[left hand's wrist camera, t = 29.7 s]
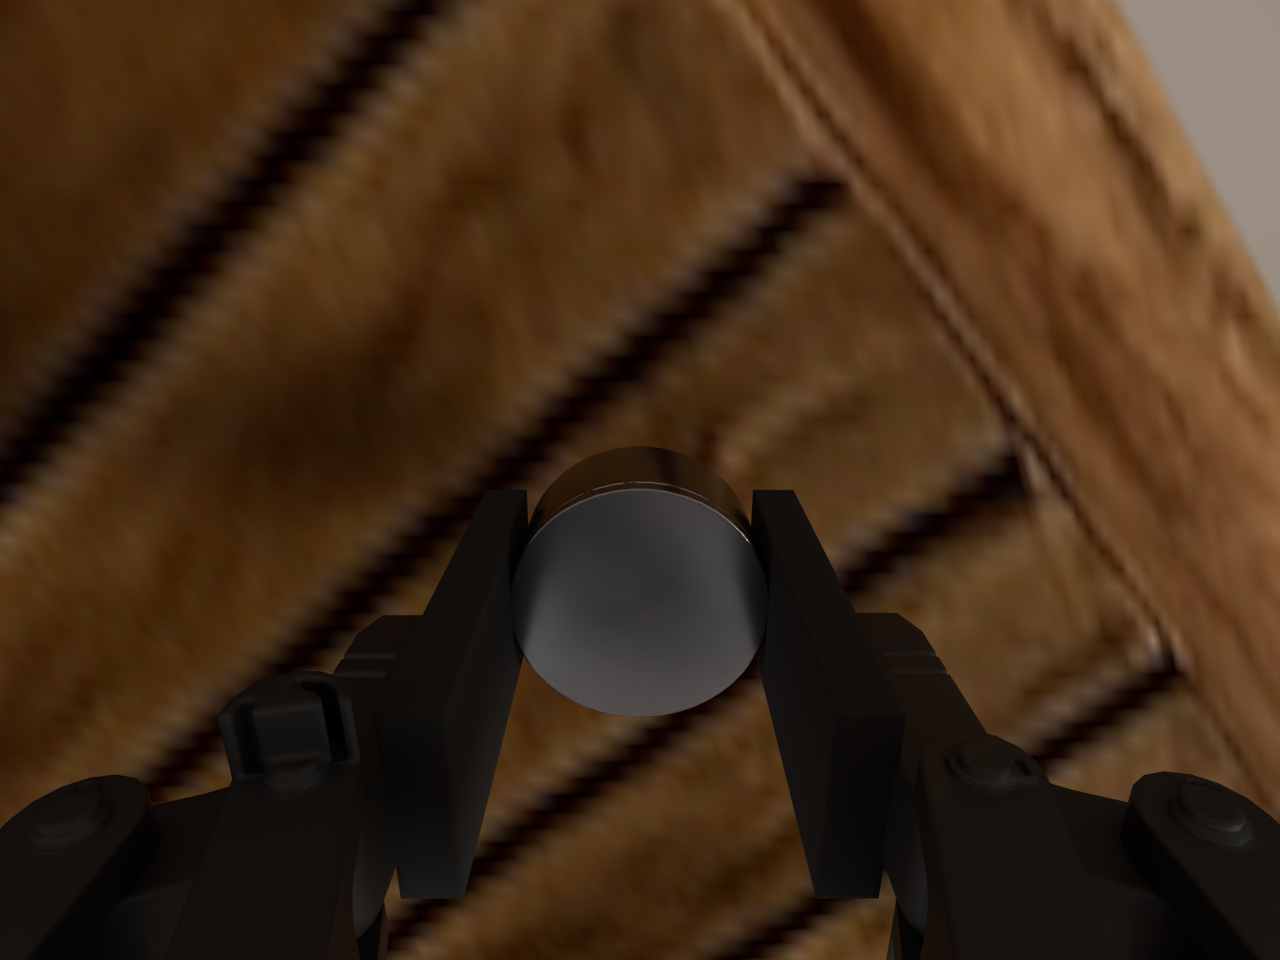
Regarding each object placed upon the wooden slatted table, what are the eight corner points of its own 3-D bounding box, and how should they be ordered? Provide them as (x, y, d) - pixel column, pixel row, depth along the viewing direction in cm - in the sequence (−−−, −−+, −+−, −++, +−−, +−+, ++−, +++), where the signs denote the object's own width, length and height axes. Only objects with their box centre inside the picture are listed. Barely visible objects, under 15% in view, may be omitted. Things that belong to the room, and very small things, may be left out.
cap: (716, 414, 14) (730, 454, 12) (777, 614, 15) (798, 680, 13) (492, 484, 14) (467, 534, 12) (572, 672, 16) (561, 744, 14)
